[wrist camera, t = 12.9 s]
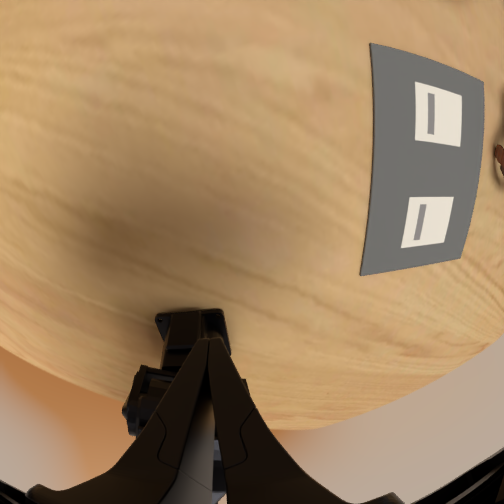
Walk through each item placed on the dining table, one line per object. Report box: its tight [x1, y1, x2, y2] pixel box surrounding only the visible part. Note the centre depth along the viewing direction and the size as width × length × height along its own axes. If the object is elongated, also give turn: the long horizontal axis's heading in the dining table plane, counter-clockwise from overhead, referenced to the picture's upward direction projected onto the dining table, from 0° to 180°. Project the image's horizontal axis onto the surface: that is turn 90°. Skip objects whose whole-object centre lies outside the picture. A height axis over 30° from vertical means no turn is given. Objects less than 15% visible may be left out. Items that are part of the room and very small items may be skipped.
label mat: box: [360, 43, 484, 276], centre depth 19 cm, size 20×14×1 cm
